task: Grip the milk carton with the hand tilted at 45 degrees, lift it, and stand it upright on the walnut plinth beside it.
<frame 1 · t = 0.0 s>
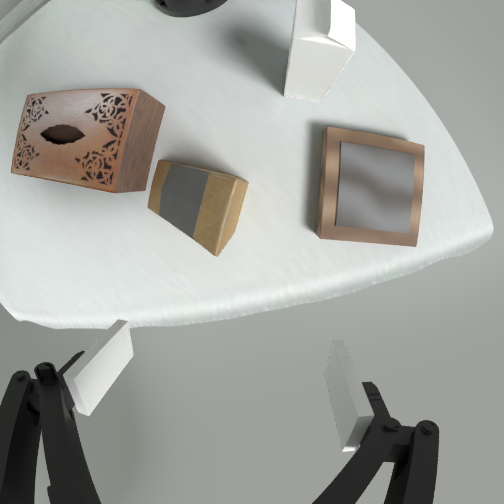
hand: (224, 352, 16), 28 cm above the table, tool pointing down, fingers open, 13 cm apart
tissue box cover: (95, 140, 41), on the table
walnut plinth: (368, 188, 40), on the table
milk: (304, 83, 37), on the table
sandwich container: (195, 194, 42), on the table
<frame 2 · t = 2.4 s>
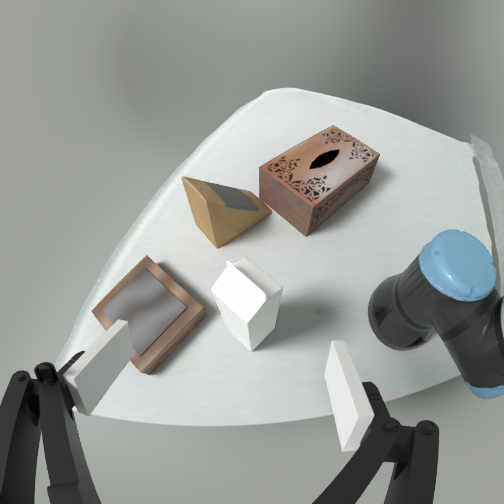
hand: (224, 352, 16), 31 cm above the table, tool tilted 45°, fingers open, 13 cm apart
tissue box cover: (318, 189, 65), on the table
walnut plinth: (149, 316, 50), on the table
milk: (251, 329, 48), on the table
sandwich container: (235, 218, 61), on the table
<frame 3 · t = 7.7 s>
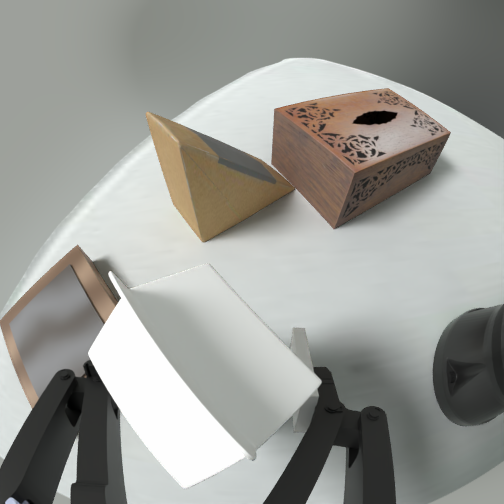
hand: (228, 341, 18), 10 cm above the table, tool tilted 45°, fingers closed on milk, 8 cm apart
tissue box cover: (360, 168, 41), on the table
walnut plinth: (73, 344, 26), on the table
milk: (233, 394, 24), on the table, touching gripper
sandwich container: (235, 196, 38), on the table
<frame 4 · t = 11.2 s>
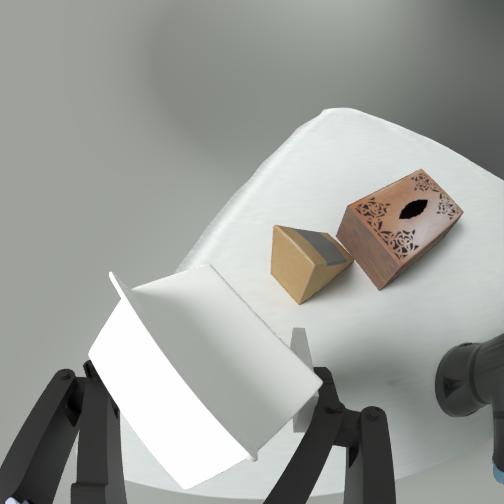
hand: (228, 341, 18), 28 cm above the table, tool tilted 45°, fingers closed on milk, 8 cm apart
tissue box cover: (396, 237, 56), on the table
milk: (233, 394, 24), point 18 cm above the table, touching gripper
sandwich container: (314, 267, 52), on the table
when the fingers open (15 cm above the table, at t = 15.0 s): milk drops 1 cm, resting on walnut plinth.
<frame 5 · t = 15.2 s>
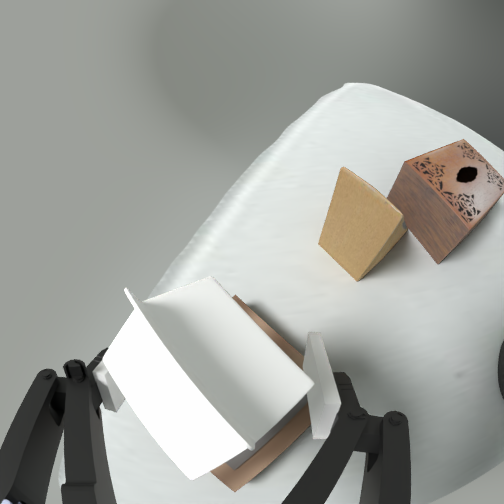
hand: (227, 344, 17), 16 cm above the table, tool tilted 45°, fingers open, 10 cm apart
tissue box cover: (444, 209, 45), on the table
walnut plinth: (236, 395, 29), on the table
milk: (235, 395, 25), point 4 cm above the table, touching walnut plinth
sandwich container: (367, 236, 41), on the table
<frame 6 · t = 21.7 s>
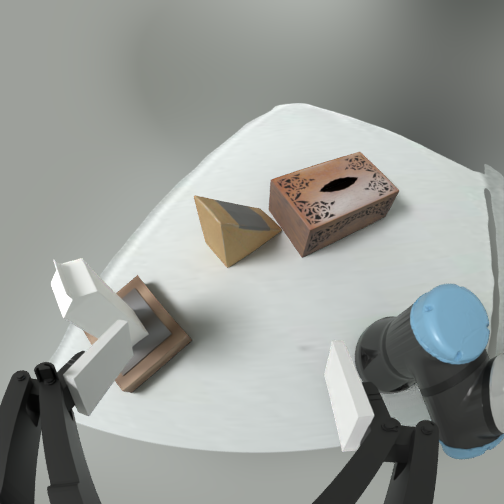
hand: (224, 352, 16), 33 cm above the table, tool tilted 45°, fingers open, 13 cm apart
tissue box cover: (330, 214, 64), on the table
walnut plinth: (136, 336, 49), on the table
milk: (128, 331, 45), point 4 cm above the table, touching walnut plinth
sandwich container: (245, 236, 61), on the table
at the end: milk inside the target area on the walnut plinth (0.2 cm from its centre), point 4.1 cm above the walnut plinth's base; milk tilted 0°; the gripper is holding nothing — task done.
